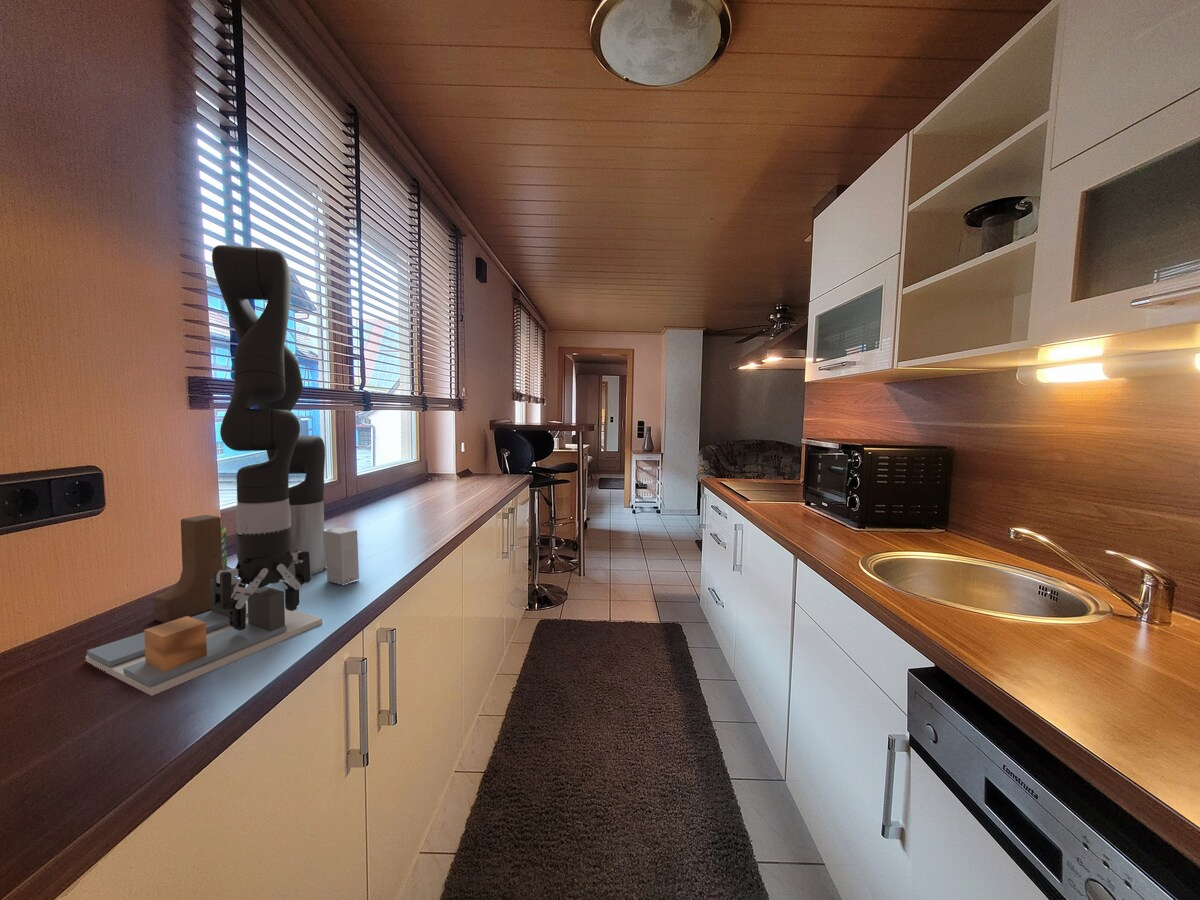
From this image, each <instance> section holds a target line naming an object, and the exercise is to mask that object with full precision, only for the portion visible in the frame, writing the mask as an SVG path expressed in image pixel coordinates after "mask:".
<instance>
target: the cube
mask: <svg viewBox="0 0 1200 900" xmlns="http://www.w3.org/2000/svg"><path fill="white" fill-rule="evenodd" d="M192 617H193V616H190V617H189V616H186V617H183V618H179V619H176V620H173V621H170V622H167V623H164V622H163V623H161V624H158V625H154V626H152V627H148V628H145V629H144V630H143V632H144V635H145V658H146V663H147V664H149V665H151V666H153V667H155V668H158V669H160V670H162V671H167V670H170V669H172V668H175V667H177V666H180V665H182V664H185V663H187V662H190V661H192V660H195V659H197V658H200V657H203V656H205V655H207V642H206V623H205V622H203V621H200V620H197V619H194V618H192Z"/></svg>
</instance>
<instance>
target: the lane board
mask: <svg viewBox="0 0 1200 900" xmlns="http://www.w3.org/2000/svg"><path fill="white" fill-rule="evenodd" d="M246 613H248V602H246ZM246 623H248V618H246ZM322 624H323V618H322V617H320V616H315V615H312V614H309V613H306V612H303V611H299V610H297V609H296V610H293V611H290V610H287V609H286V608H285V626H287V631H284V632H282V633H279V634H277V635H275V636H272V637H270V638H267V639H265V640H262V641H260V642H257V643H255V644H252V645H250V646H248V647H245V648H243V649H240V650H238V651H235V652H233V653H230V654H228V655H226V656H223V657H221V658H218V659H216V660H213V661H211V662H208V663H206V664H203V665H201V666H199V667H196V668H194V669H191V670H189V671H186V672H184V673H181V674H179V675H177V676H174V677H172V678H169V679H167V680H164V681H162V682H159V683H157V684H154V685H152V686H150V687H149V686H147V685H145V684H143V683H141V682H139V681H137V680H135V679H133V678H131V677H129V676H127V675H125V674H124V672H123V668H125V667H128V666H131V665H134V664H136V663H139V662H142V661H145V660H146V658H145V654H144V655H142V656H139V657H136V658H133V659H130V660H127V661H125V662H122V663H119V664H116V665H113V666H111V667H109V666H107V665H105V664H103V663H101V662H99V661H97V660H95V659H93V658H91V657H89V656H87V655H85V662H86V661H87V662H88V663H90V664H92V665H93V667H94V666H95V668H96V667H97V668H96V669H98V668H99V669H98V670H100V669H101V670H100V671H102V670H103V671H102V672H104V671H105V672H104V673H106V674H108V675H110V676H112V677H113V678H116V679H117V680H119V681H122V682H124V683H126V684H128V685H130V686H132V687H133V688H135V689H138V690H139V691H142V692H143V693H145V694H147V695H150V696H151V697H153V696H155V695H158V694H160V693H162V692H164V691H167V690H169V689H172V688H174V687H176V686H179V685H181V684H183V683H185V682H188V681H190V680H192V679H195V678H197V677H200V676H202V675H204V674H207V673H209V672H212V671H214V670H216V669H219V668H221V667H223V666H226V665H227V664H228V665H229V664H230V663H232V662H235V661H237V660H240V659H242V658H244V657H247V656H249V655H252V654H254V653H257V652H259V651H260V650H263V649H265V648H268V647H270V646H273V645H275V644H277V643H279V642H282V641H284V640H287V639H289V638H292V637H294V636H296V635H299V634H302V633H304V632H305V631H308V630H310V629H313V628H315V627H318V626H321V625H322ZM232 628H233V627H231V626H230V624H229V625H226V626H223V627H220V628H218V629H215V630H212V631H209V632H206V638H208V637H210V636H213V635H216V634H219V633H221V632H224V631H227V630H230V629H232ZM88 663H87V664H88ZM90 664H89V665H90ZM92 665H91V666H92Z"/></svg>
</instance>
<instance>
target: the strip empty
mask: <svg viewBox="0 0 1200 900" xmlns="http://www.w3.org/2000/svg"><path fill="white" fill-rule="evenodd" d="M239 580H240V578H238V577H237V578H236V577H235V578H234V582H232V583H231V595H232V594H233V592H234V587H235V586H236V584H237V583H238V581H239ZM246 586H247V585H246ZM246 586H245V588H247V587H246ZM213 602H214V579H211V610H208V611H205V612H202V613H199V614H196V615H193V616H191V617H192V618H194V619H197V620H200V621H203V622H205V623H206V632H209V631H212V630H215V629H218V628H220V627H223V626H226V625H229V609H226V610H224V609H222V608H219V607H215V606H214V604H213ZM246 603H247V602H246ZM246 603H245V604H244V606H243V607H245V618H248V613H246ZM144 654H145V635H144V631H142V632H140V633H137V634H134V635H130V636H128V637H124V638H121V639H118V640H115V641H112V642H108V643H107V644H103V645H100V646H97V647H94V648H91V649H87V650H86V656H89V657H91V658H93V659H95V660H97V661H99V662H101V663H103V664H105V665H107V666H109V667H111V666H113V665H116V664H119V663H122V662H125V661H127V660H130V659H133V658H136V657H139V656H142V655H144Z"/></svg>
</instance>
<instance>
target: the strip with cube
mask: <svg viewBox="0 0 1200 900" xmlns="http://www.w3.org/2000/svg"><path fill="white" fill-rule="evenodd" d="M247 603H248V623H246V628H245V629H243V630H240V631H239V630H236V629H234V628H232V629H230V630H227V631H224V632H221V633H219V634H216V635H213V636H210V637H208V638H206V642H207V655H205V656H203V657H200V658H197V659H195V660H192V661H190V662H187V663H185V664H182V665H180V666H177V667H175V668H172V669H170V670H167V671H162V670H160V669H158V668H155V667H153V666H151V665H149V664H147V663H146V660H145V661H142V662H139V663H136V664H134V665H131V666H128V667H125V668H123V672H124V674H125V675H127V676H129V677H131V678H133V679H135V680H137V681H139V682H141V683H143V684H145V685H147V686H149V687H150V686H152V685H154V684H157V683H159V682H162V681H164V680H167V679H169V678H172V677H174V676H177V675H179V674H181V673H184V672H186V671H189V670H191V669H194V668H196V667H199V666H201V665H203V664H206V663H208V662H211V661H213V660H216V659H218V658H221V657H223V656H226V655H228V654H230V653H233V652H235V651H238V650H240V649H243V648H245V647H248V646H250V645H252V644H255V643H257V642H260V641H262V640H265V639H267V638H270V637H272V636H275V635H277V634H279V633H282V632H284V631H287V626H285V590H280V589H276V588H273V587H269V586H267V585H266V586H264V587H261V588H258V587H257V589H256V590H255V592H254V593H253V595H251V596H249V598H248V599H247Z"/></svg>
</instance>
